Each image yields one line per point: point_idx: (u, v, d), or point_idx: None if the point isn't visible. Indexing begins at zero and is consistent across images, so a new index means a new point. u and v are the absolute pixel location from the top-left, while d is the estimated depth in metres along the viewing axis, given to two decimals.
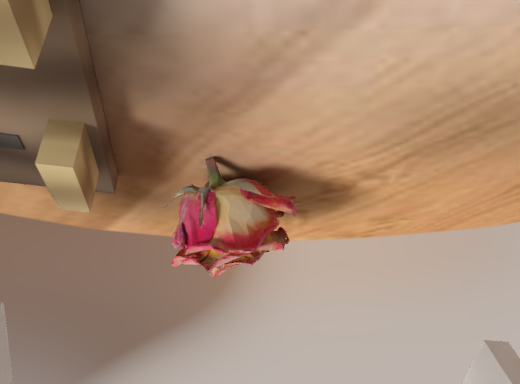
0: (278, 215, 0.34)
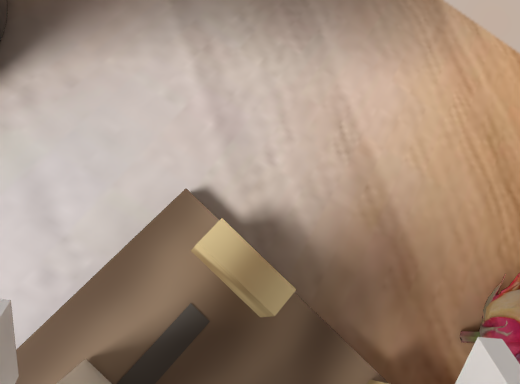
0: None
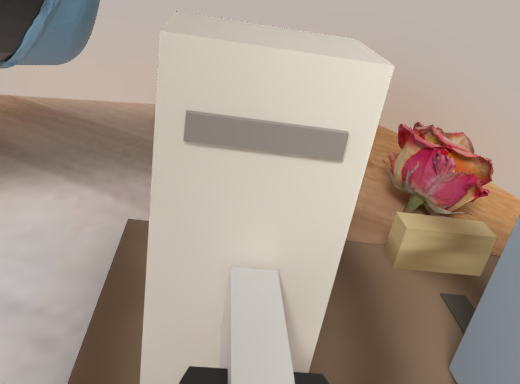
0: None
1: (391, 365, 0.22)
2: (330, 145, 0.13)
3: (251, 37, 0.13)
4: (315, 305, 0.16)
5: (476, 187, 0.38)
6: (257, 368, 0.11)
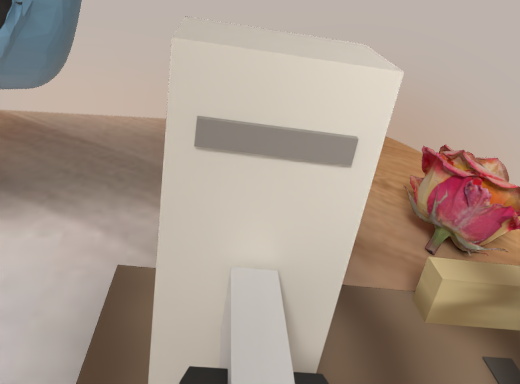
0: None
1: None
2: (340, 151, 0.13)
3: (261, 43, 0.13)
4: (323, 308, 0.16)
5: (511, 219, 0.34)
6: (257, 368, 0.11)
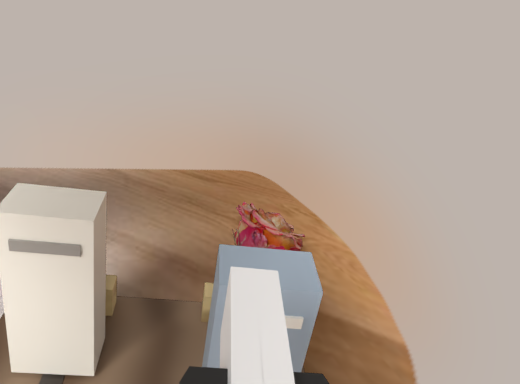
0: None
1: None
2: (73, 251, 0.31)
3: (38, 206, 0.30)
4: (87, 316, 0.33)
5: None
6: (257, 368, 0.11)
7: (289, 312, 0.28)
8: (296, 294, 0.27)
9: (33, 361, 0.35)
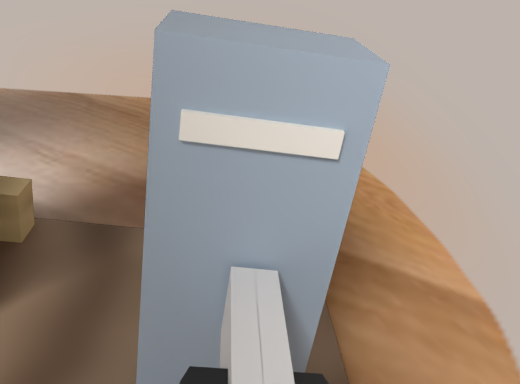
0: None
1: (78, 362, 0.20)
2: None
3: None
4: None
5: None
6: (257, 368, 0.11)
7: (314, 118, 0.13)
8: (330, 67, 0.12)
9: None
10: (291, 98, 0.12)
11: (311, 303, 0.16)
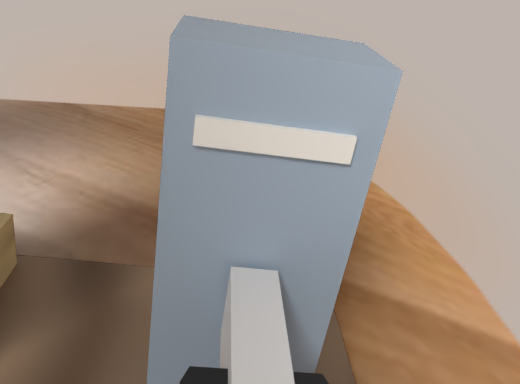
0: None
1: None
2: None
3: None
4: None
5: None
6: (257, 368, 0.11)
7: (326, 123, 0.13)
8: (343, 73, 0.12)
9: None
10: (305, 103, 0.13)
11: (321, 306, 0.16)
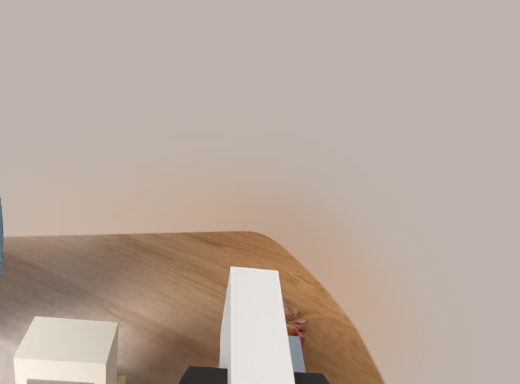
0: None
1: None
2: None
3: (54, 348, 0.32)
4: None
5: None
6: (257, 368, 0.11)
7: None
8: None
9: None
10: None
11: None
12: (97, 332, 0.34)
